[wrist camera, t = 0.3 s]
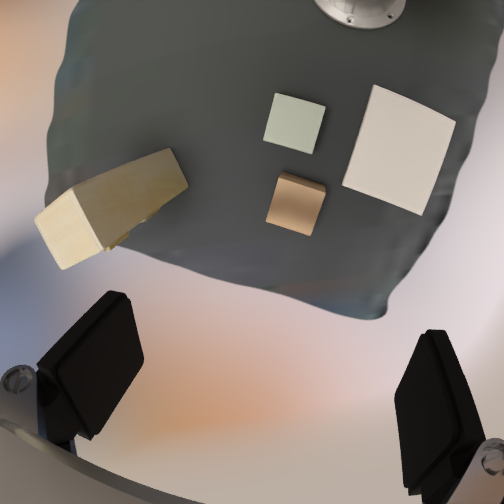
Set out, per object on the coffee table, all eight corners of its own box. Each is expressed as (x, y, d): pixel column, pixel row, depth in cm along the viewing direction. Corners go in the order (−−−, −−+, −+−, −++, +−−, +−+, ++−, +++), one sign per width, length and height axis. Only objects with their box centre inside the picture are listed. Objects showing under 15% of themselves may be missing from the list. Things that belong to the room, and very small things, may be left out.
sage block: (279, 94, 37) (275, 92, 33) (324, 107, 36) (325, 106, 33) (268, 137, 39) (263, 140, 36) (312, 150, 39) (311, 154, 35)
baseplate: (372, 85, 33) (374, 84, 32) (453, 121, 32) (455, 121, 32) (341, 183, 40) (342, 185, 39) (419, 213, 39) (421, 215, 38)
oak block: (282, 171, 41) (278, 177, 38) (325, 185, 41) (325, 193, 37) (270, 211, 44) (265, 221, 40) (311, 224, 44) (310, 235, 40)
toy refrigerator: (151, 210, 47) (63, 277, 29) (130, 169, 45) (31, 217, 27) (192, 191, 45) (108, 256, 26) (170, 146, 42) (71, 184, 24)
